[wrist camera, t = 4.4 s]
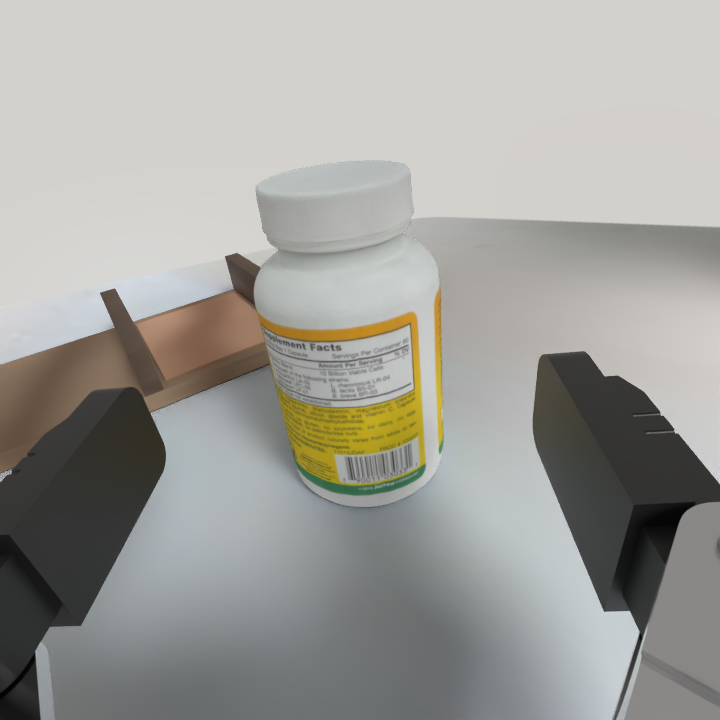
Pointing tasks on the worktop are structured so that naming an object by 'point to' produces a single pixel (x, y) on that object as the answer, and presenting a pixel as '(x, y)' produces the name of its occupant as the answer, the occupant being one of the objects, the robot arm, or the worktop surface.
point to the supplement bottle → (352, 330)
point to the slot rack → (134, 361)
